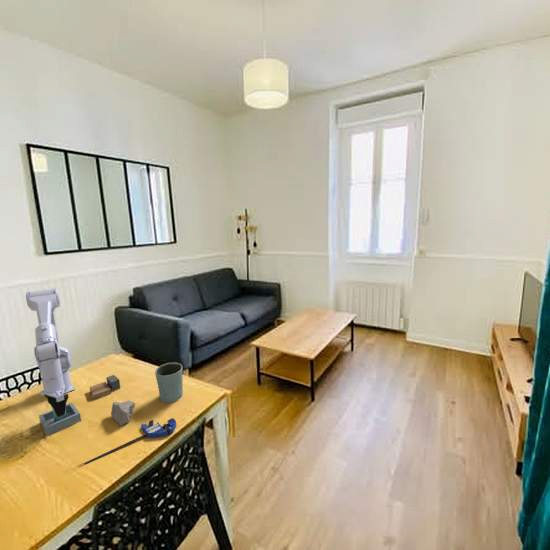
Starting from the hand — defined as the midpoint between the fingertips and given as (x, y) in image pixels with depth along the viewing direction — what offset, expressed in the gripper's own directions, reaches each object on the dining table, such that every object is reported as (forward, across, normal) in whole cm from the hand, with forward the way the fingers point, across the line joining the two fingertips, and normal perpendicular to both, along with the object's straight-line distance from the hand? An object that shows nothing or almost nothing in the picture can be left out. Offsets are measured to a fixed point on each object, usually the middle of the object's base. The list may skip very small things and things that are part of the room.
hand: (58, 411), depth 107 cm
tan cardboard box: (+4, -9, +16) cm, 19 cm away
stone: (+4, +15, +16) cm, 22 cm away
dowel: (+3, 0, 0) cm, 3 cm away
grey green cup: (+4, +16, +34) cm, 38 cm away
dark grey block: (+4, -9, +21) cm, 23 cm away
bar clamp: (+5, +29, +10) cm, 31 cm away
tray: (+4, 0, 0) cm, 4 cm away
